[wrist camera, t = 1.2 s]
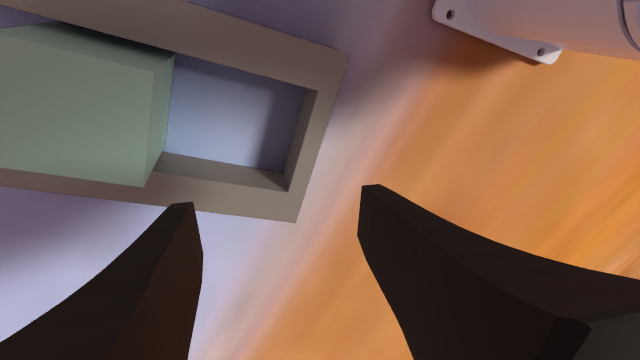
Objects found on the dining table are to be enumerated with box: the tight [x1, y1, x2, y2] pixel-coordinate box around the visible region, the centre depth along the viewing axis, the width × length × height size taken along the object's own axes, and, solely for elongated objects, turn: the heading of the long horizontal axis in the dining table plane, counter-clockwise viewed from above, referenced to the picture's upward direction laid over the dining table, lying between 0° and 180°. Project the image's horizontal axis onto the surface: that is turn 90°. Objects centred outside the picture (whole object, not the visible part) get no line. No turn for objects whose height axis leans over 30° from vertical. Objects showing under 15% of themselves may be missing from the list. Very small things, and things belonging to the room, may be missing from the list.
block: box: [0, 22, 175, 188], centre depth 14 cm, size 5×5×5 cm
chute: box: [0, 0, 350, 223], centre depth 16 cm, size 16×10×2 cm, turn 73°
